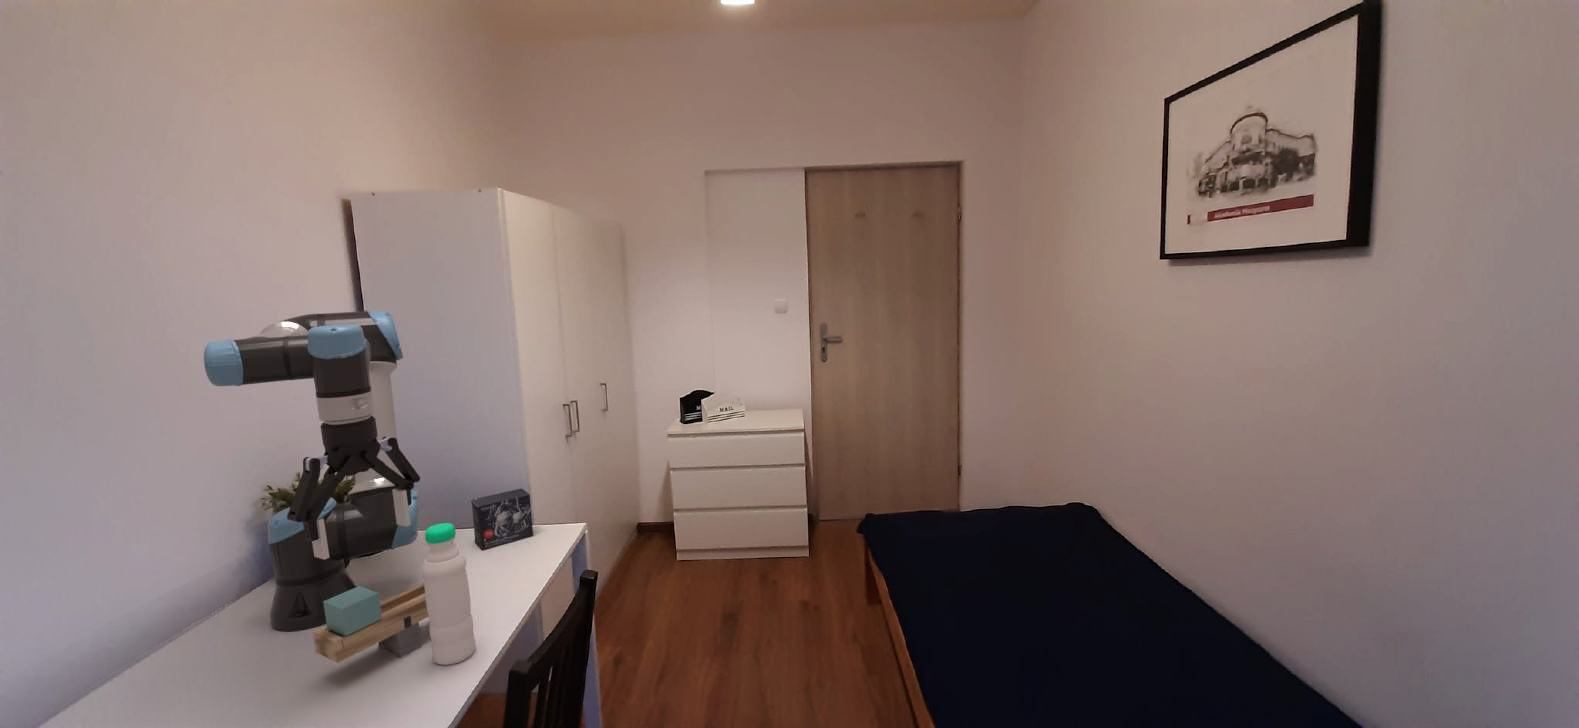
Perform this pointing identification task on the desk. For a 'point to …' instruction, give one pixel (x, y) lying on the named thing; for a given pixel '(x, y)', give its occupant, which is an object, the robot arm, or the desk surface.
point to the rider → (352, 610)
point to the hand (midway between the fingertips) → (365, 540)
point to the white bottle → (447, 597)
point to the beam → (380, 629)
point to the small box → (502, 518)
